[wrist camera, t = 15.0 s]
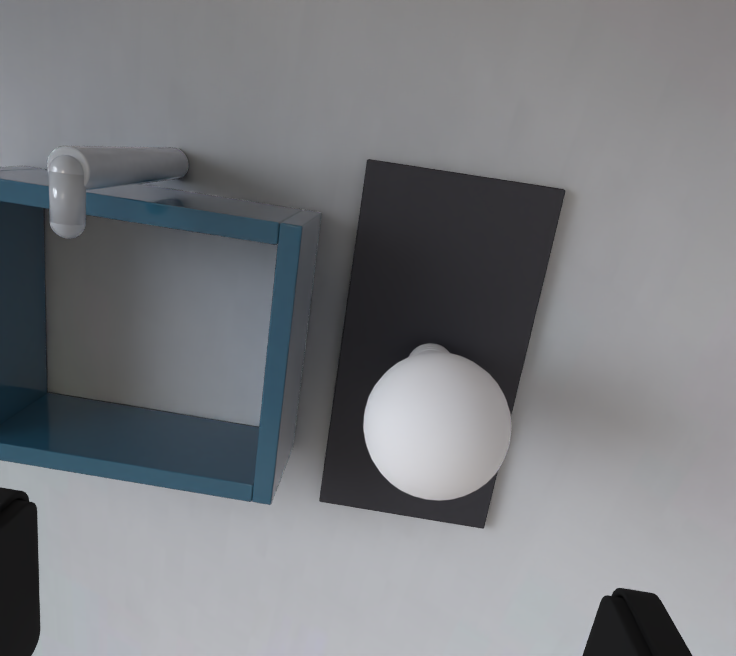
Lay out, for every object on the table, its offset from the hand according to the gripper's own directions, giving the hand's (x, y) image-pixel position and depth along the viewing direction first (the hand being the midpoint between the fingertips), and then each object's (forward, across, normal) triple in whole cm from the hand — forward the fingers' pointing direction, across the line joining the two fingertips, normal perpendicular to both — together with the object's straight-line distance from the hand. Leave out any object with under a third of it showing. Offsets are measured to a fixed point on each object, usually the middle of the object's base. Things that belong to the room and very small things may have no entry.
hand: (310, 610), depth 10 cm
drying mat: (+23, -4, +4) cm, 24 cm away
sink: (+23, +11, +3) cm, 26 cm away
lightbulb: (+23, -4, +4) cm, 23 cm away
